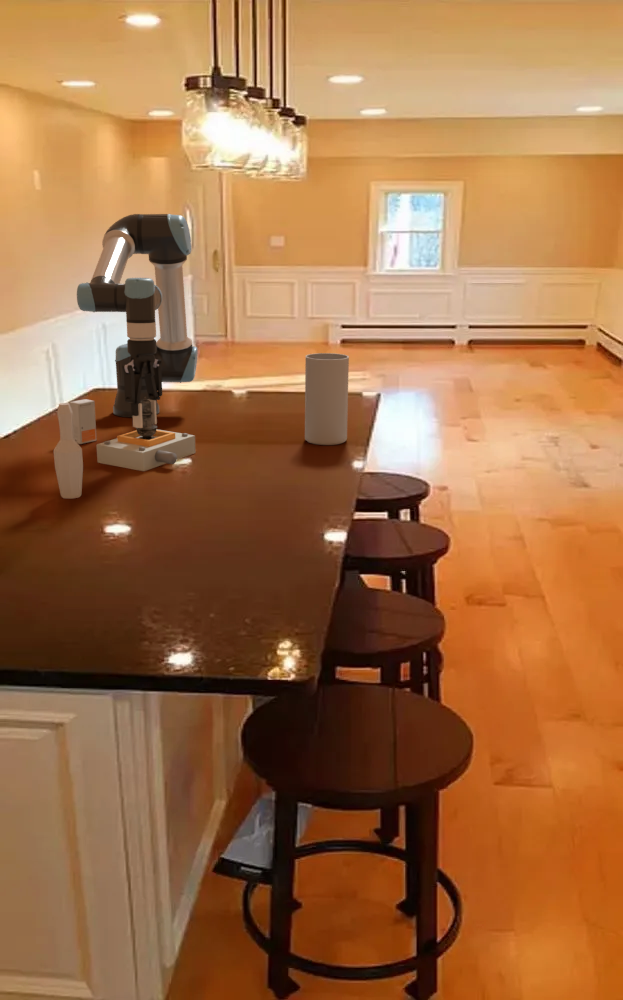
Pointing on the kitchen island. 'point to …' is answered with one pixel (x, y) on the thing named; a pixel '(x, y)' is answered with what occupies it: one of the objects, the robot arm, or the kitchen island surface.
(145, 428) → the chess piece
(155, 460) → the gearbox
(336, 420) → the cylinder vase
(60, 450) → the low poly bottle
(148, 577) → the kitchen island surface
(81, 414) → the skincare box
